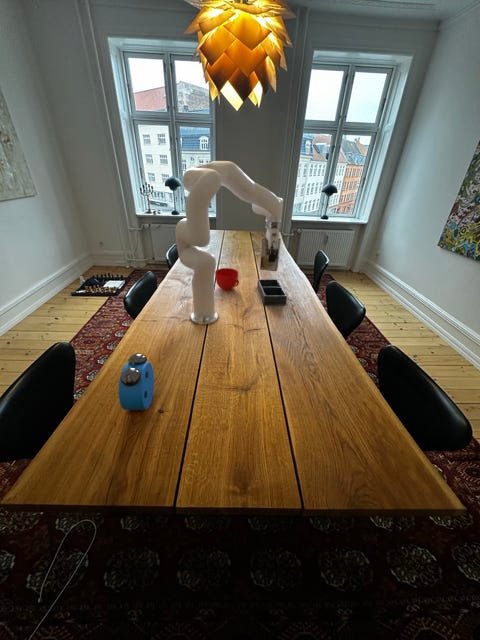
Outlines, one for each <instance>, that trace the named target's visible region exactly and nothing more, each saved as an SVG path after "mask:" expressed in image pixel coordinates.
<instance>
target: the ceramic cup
mask: <svg viewBox="0 0 480 640" xmlns="http://www.w3.org/2000/svg"><path fill="white" fill-rule="evenodd" d="M214 278H215V281H216V284H217V286H218V287H219V289H220V290H222V291H231V290H233V289H234V288H235V287H238V286H239V285H240V280H239V271H238V270H237V269H235V268H228V267H223V268H218V269H215V273H214Z"/></svg>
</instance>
